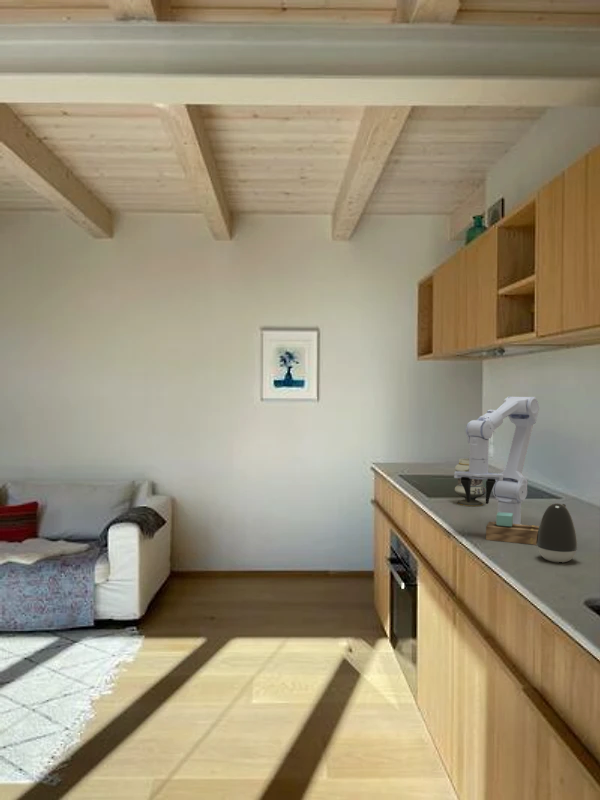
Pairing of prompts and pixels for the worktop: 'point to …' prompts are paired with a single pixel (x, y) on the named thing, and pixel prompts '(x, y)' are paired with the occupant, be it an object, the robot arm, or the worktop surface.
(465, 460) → the apothecary jar
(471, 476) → the robot arm
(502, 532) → the slotted wooden block
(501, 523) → the block
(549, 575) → the worktop surface
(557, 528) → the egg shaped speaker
